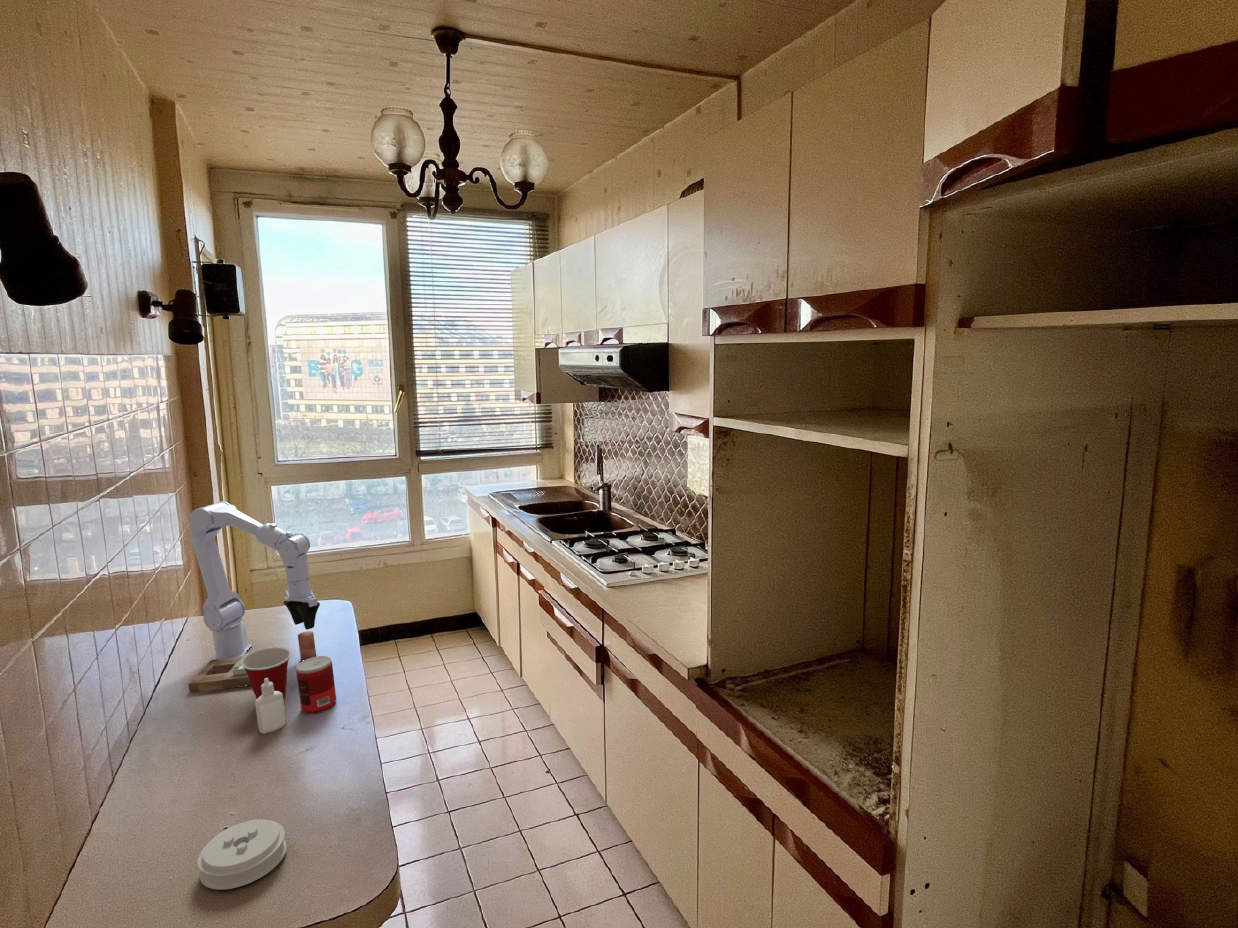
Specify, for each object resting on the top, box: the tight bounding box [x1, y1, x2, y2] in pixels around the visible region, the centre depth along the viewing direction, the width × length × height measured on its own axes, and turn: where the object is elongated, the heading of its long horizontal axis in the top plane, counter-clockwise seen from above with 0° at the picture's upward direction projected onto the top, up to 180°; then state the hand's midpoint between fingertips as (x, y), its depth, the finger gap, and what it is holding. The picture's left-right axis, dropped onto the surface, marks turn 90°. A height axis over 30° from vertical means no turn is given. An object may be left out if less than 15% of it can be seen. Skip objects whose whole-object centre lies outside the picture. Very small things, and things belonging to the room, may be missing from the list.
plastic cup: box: [241, 646, 292, 700], centre depth 167 cm, size 11×11×12 cm
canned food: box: [295, 655, 337, 715], centre depth 164 cm, size 8×8×11 cm
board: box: [188, 657, 251, 694], centre depth 183 cm, size 14×18×2 cm
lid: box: [197, 819, 288, 891], centre depth 113 cm, size 13×13×5 cm
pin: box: [297, 631, 317, 661], centre depth 192 cm, size 4×4×7 cm
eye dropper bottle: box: [254, 678, 288, 735], centre depth 155 cm, size 4×6×12 cm
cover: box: [233, 652, 251, 675], centre depth 184 cm, size 10×9×2 cm
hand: (304, 625), depth 191 cm, fingers open, 6 cm apart
